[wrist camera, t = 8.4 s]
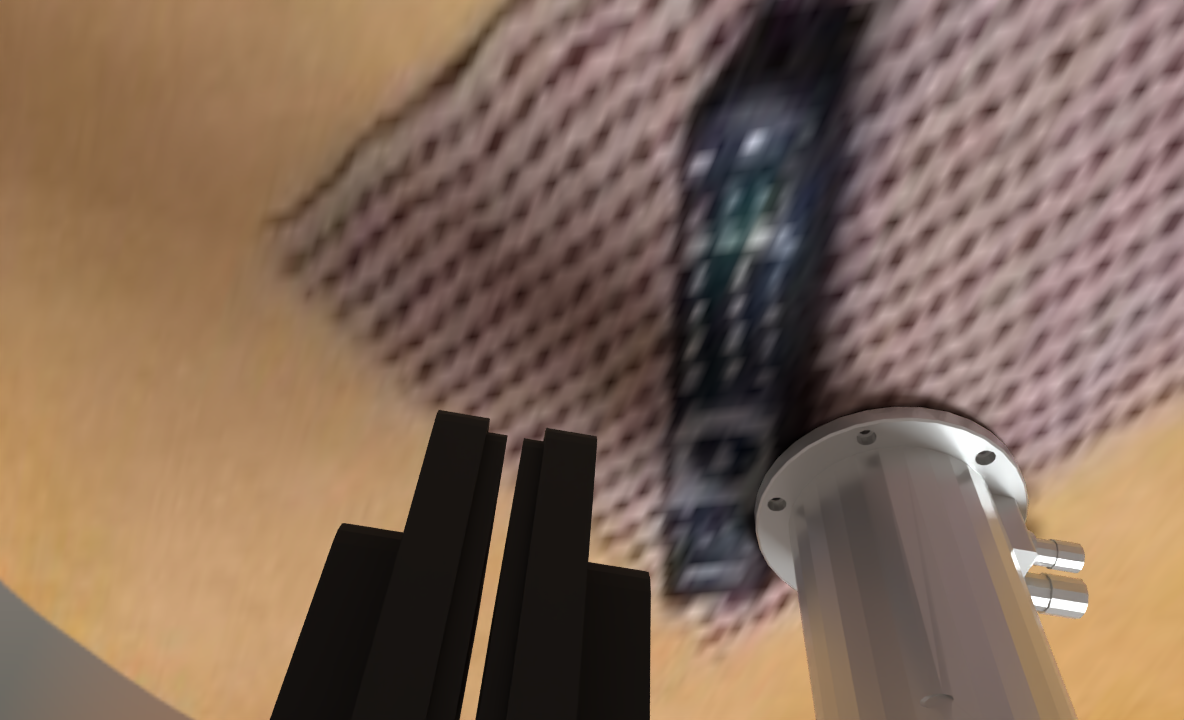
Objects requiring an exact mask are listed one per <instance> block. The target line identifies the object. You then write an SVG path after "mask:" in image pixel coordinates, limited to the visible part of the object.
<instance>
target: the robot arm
mask: <svg viewBox="0 0 1184 720" xmlns="http://www.w3.org/2000/svg"><path fill="white" fill-rule="evenodd" d="M489 422H490V419H489V418H483V417H477V416H471V415H465V414H459V413H453V412H447V411H441V410H439V411H438V412H437V415H436V418H435V422H434V425H433V429H432V433H431V436H430V440H429V443H428V447H427V450H426V454H425V458H424V461H423V465H422V468H421V472H420V475H419V479H418V483H417V486H416V490H415V493H414V497H413V500H412V504H411V508H410V511H409V515H408V518H407V522H406V525H405V529H404V532H397V531H390V530H384V529H378V528H371V527H365V526H359V525H353V524H346V523H342V524H341V526H340V527H339V529H338V531H337V533H336V536H335V538H334V540H333V543H332V546H331V549H330V551H329V554H328V557H327V560H326V563H325V566H324V568H323V571H322V574H321V577H320V580H319V583H318V585H317V588H316V591H315V594H314V597H313V599H312V602H311V605H310V608H309V611H308V614H307V616H306V619H305V622H304V625H303V628H302V631H301V633H300V636H299V639H298V642H297V645H296V647H295V650H294V653H293V656H292V659H291V662H290V664H289V667H288V670H287V673H286V676H285V678H284V681H283V684H282V687H281V690H280V693H279V695H278V698H277V701H276V704H275V707H274V710H273V712H272V715H271V718H270V720H460V714H461V709H462V703H463V698H464V692H465V687H466V681H467V676H468V670H469V665H470V659H471V654H472V648H473V643H474V637H475V631H476V626H477V620H478V614H479V608H480V602H481V596H482V590H483V584H484V578H485V572H486V565H487V559H488V553H489V547H490V541H491V535H492V529H493V522H494V516H495V510H496V504H497V498H498V492H499V486H500V479H501V473H502V467H503V461H504V455H505V449H506V442H507V435H501V434H495V433H489V432H488V430H489ZM596 450H597V436H591V435H585V434H579V433H573V432H567V431H561V430H555V429H549V428H546V431H545V436H544V441H537V440H531V439H525V438H524V441H523V446H522V452H521V458H520V464H519V469H518V475H517V481H516V486H515V492H514V498H513V503H512V509H511V515H510V521H509V526H508V532H507V538H506V543H505V549H504V555H503V561H502V566H501V572H500V578H499V583H498V589H497V595H496V601H495V606H494V612H493V618H492V624H491V630H490V636H489V642H488V648H487V654H486V660H485V666H484V672H483V678H482V684H481V690H480V696H479V702H478V708H477V714H476V720H650V618H651V588H650V577H649V572H646V571H641V570H634V569H628V568H622V567H616V566H609V565H603V564H597V563H591V562H588V557H589V544H590V530H591V517H592V504H593V490H594V477H595V463H596ZM1028 504H1029V500H1028V494H1027V488H1026V483H1025V480H1024V478H1023V475H1022V473H1021V471H1020V468H1019V466H1018V463H1017V462H1016V460H1015V459H1014V457H1013V455H1012V454H1011V452H1010V451H1009V449H1008V448H1007V446H1006V445H1005V444H1004V443H1002V442H1001V441H1000V440H999V439H998V438H997V437H996V436H995V435H994V434H993V433H992V432H990V431H989V430H987V429H985V428H984V427H982V426H980V425H978V424H977V423H975V422H973V421H972V420H969V419H967V418H964V417H961V416H958V415H955V414H952V413H949V412H946V411H940V410H935V409H929V408H923V407H888V408H880V409H872V410H865V411H862V412H858V413H855V414H851V415H848V416H844V417H840V418H838V419H836V420H833V421H831V422H829V423H827V424H824V425H822V426H820V427H818V428H816V429H814V430H812V431H811V432H809V433H808V434H806V435H805V436H803V437H802V438H800V439H799V440H797V441H796V442H794V443H793V444H792V445H791V446H790V447H789V448H788V449H787V450H786V451H785V452H783V453H782V454H781V455H780V456H779V457H778V458H777V459H776V461H775V462H774V464H773V465H772V466H771V468H770V469H769V470H768V472H767V473H766V475H765V477H764V479H763V481H762V483H761V486H760V488H759V490H758V493H757V498H756V504H755V510H754V514H755V528H756V535H757V539H758V543H759V548H760V550H761V552H762V554H763V556H764V558H765V560H766V562H767V564H768V565H769V566H770V568H771V569H772V570H773V571H774V572H775V573H776V574H777V575H778V577H779V578H780V579H781V580H783V581H784V582H785V583H786V584H788V585H789V586H790V587H792V588H793V589H795V590H796V591H797V592H798V599H799V606H800V613H801V620H802V627H803V634H804V641H805V648H806V655H807V662H808V669H809V676H810V683H811V689H812V696H813V703H814V710H815V717H816V720H1078V718H1077V715H1076V712H1075V710H1074V707H1073V705H1072V702H1071V699H1070V697H1069V694H1068V692H1067V689H1066V686H1065V684H1064V681H1063V679H1062V676H1061V673H1060V671H1059V668H1058V666H1057V663H1056V660H1055V658H1054V655H1053V652H1052V650H1051V647H1050V645H1049V642H1048V639H1047V637H1046V634H1045V632H1044V629H1043V626H1042V624H1041V621H1040V619H1039V616H1038V613H1040V614H1046V615H1052V616H1058V617H1064V618H1071V619H1079V618H1081V617H1082V616H1083V615H1084V613H1085V611H1086V608H1087V605H1088V590H1087V586H1086V584H1085V583H1084V582H1083V580H1082V579H1077V578H1072V577H1066V576H1059V575H1053V574H1047V573H1041V574H1035V573H1029V572H1028V570H1029V568H1030V567H1032V565H1038V566H1044V567H1047V568H1048V569H1054V570H1060V571H1066V572H1072V573H1078V572H1079V571H1080V570H1081V569H1082V567H1083V564H1084V558H1085V554H1084V550H1083V547H1082V546H1081V545H1080V544H1078V543H1072V542H1066V541H1059V540H1052V539H1050V540H1045V539H1039V538H1036V537H1035V535H1034V533H1032V532H1031V531H1029V530H1027V527H1026V525H1025V523H1026V521H1027V513H1028ZM1037 612H1038V613H1037Z"/></svg>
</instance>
